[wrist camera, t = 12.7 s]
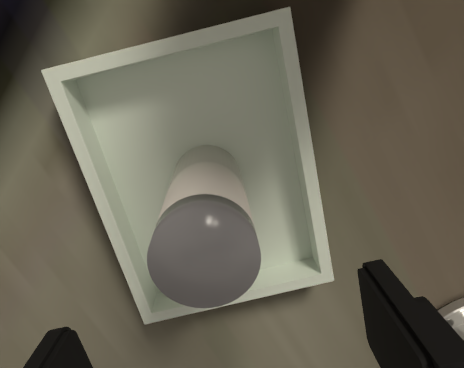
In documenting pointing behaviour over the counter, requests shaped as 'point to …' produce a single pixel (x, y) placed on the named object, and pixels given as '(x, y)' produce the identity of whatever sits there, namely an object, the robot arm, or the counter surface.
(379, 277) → the robot arm
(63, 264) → the counter surface
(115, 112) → the tray
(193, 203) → the shaker
